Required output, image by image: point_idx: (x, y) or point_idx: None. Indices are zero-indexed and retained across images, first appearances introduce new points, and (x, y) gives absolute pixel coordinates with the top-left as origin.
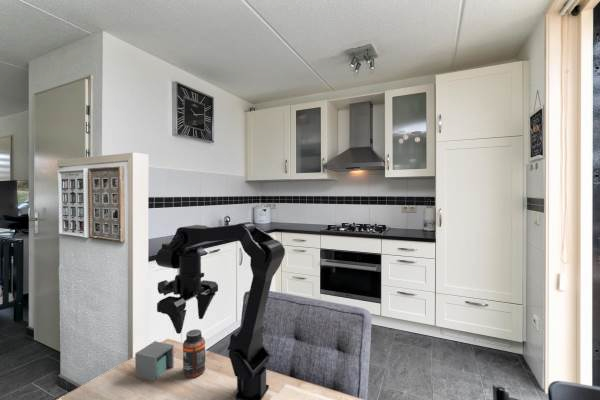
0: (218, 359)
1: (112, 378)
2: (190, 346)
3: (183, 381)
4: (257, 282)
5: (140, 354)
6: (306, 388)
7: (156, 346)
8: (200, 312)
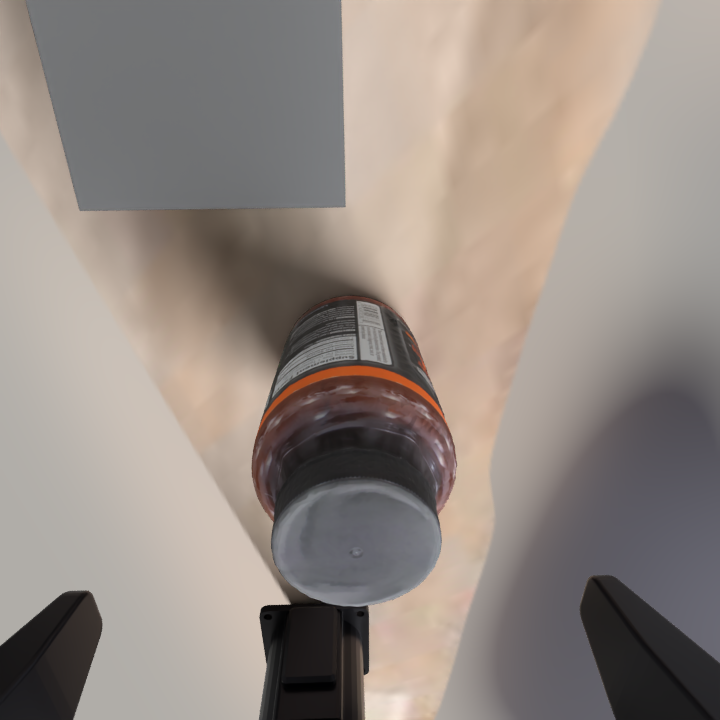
0: (503, 405)
1: None
2: (264, 508)
3: (254, 353)
4: None
5: None
6: None
7: (241, 17)
8: (649, 709)
